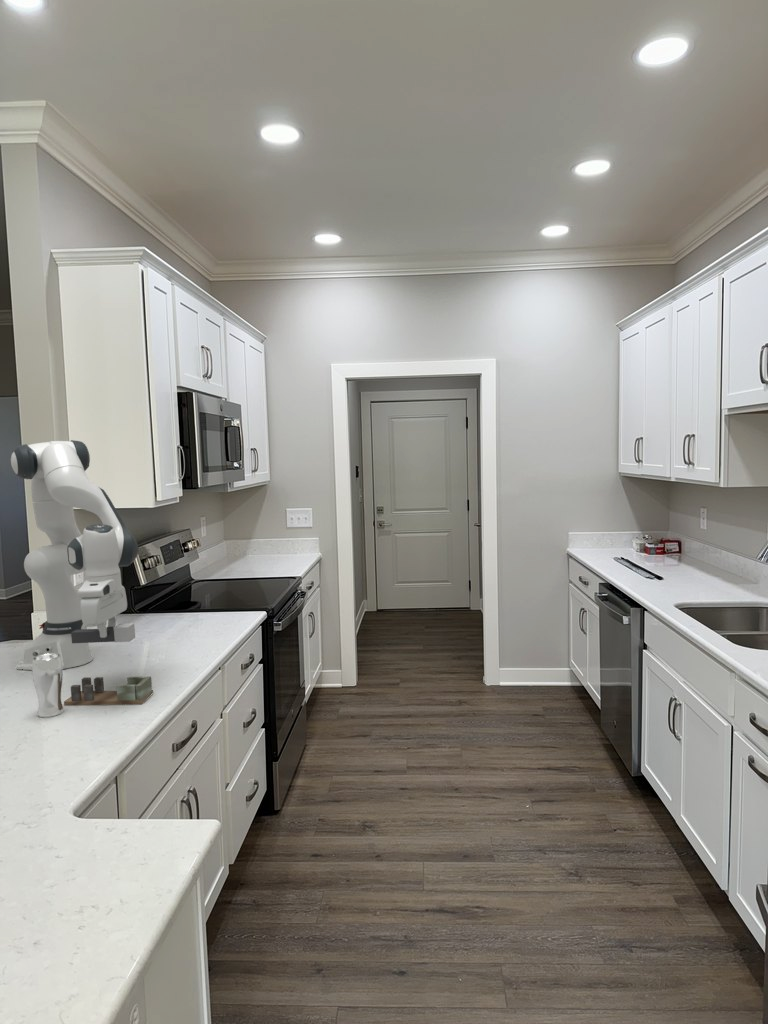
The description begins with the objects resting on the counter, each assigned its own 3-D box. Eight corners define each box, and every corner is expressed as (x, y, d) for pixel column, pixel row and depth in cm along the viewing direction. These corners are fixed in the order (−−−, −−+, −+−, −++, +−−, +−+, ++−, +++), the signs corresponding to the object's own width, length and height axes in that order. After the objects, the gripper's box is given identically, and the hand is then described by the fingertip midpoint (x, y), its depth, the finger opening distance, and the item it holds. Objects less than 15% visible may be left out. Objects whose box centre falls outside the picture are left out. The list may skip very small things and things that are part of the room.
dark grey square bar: (71, 643, 183) (69, 629, 183) (78, 639, 187) (76, 625, 187) (129, 641, 183) (128, 627, 182) (135, 637, 187) (134, 623, 186)
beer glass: (45, 720, 172) (41, 662, 171) (30, 715, 176) (25, 658, 174) (71, 710, 178) (67, 654, 177) (55, 706, 182) (51, 651, 180)
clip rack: (64, 705, 182) (62, 687, 182) (78, 694, 190) (77, 677, 189) (141, 704, 181) (140, 686, 181) (153, 693, 189) (152, 676, 189)
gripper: (109, 578, 194) (112, 625, 195) (74, 592, 174) (79, 645, 175) (130, 577, 194) (134, 624, 195) (98, 591, 174) (103, 644, 175)
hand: (108, 634), depth 185 cm, fingers closed on dark grey square bar, 3 cm apart
